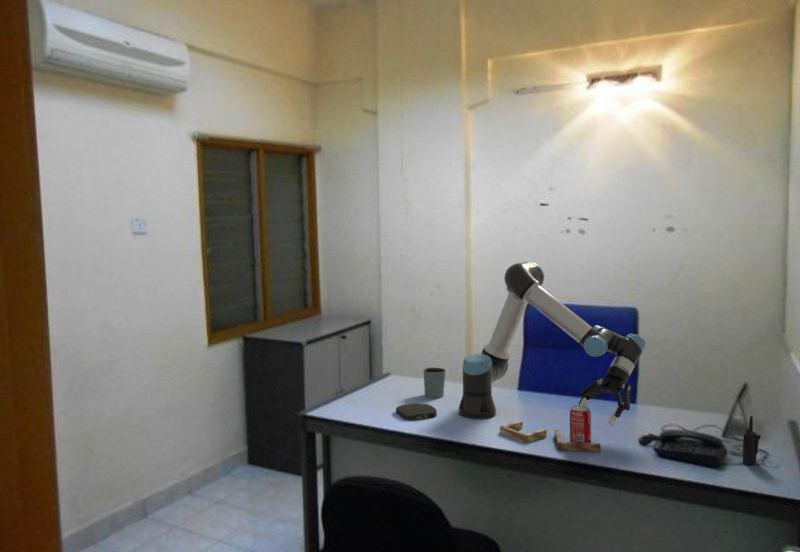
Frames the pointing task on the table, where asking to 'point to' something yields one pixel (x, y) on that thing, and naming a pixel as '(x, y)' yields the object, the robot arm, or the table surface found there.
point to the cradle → (576, 445)
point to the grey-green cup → (434, 382)
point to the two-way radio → (750, 444)
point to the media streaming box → (416, 411)
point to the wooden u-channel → (511, 432)
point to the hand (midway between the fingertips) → (593, 418)
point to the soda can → (580, 424)
